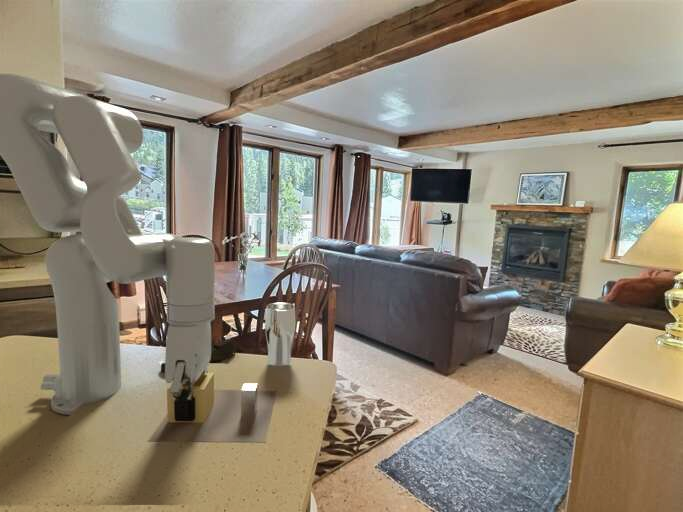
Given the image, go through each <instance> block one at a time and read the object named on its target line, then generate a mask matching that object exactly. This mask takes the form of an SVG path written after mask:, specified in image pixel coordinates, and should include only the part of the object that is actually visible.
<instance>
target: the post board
mask: <svg viewBox="0 0 683 512" xmlns="http://www.w3.org/2000/svg"><path fill="white" fill-rule="evenodd" d="M277 391H278V390H263V389H262V390H258V383H243V385H242V387H241V389H214V404H213V406H212V408H211V410H210V412H209V414H208V416H207V418H206V420H205V421H204V423H201V422H168V417H167V414H166V415H165V416H164V417H163V420H162V421H161V422H160V423H159V425H158V426H157V428H155V431H154V432H153V433H152V435H151V436H150V437H149V439H148V440H147V442H154V443H155V442H156V443H158V442H160V443H161V442H164V443H165V442H169V443H172V442H174V443H175V442H177V443H181V442H182V443H183V442H184V443H266V439H267V437H268V436H267V435H268V431H269V427H270V422H271V417H272V413H273V409H274V404H275V400H276V395H277Z"/></svg>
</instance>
